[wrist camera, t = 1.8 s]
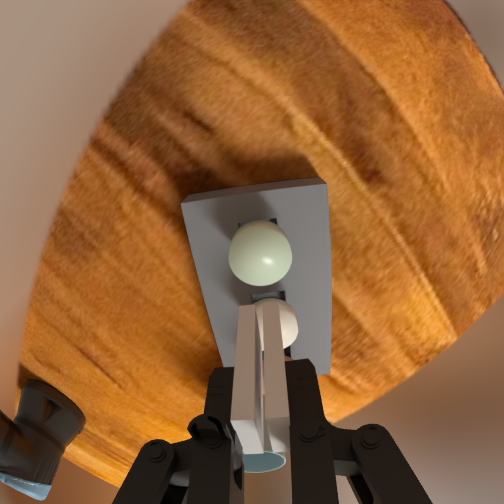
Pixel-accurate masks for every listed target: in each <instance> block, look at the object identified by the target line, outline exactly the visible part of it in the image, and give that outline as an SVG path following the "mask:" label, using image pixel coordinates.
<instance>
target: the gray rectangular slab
mask: <svg viewBox="0 0 504 504" xmlns="http://www.w3.org/2000/svg"><path fill="white" fill-rule="evenodd" d="M181 208H182V212H183V217H184V221H185V226H186V230H187V234H188V238H189V242H190V247H191V251H192V255H193V259H194V263H195V267H196V271H197V274H198V278H199V282H200V286H201V290H202V293H203V297H204V301H205V304H206V308H207V312H208V315H209V319H210V322H211V326H212V329H213V333H214V336H215V340H216V343H217V346H218V350H219V353H220V356H221V360H222V363H223V366H224V367H235V354H236V342H237V330H238V318H239V306H243V305H252V304H254V303H255V302H257V301H259V300H262V299H263V298H265V297H274V298H276V299H280V300H283V301H285V302H287V303H288V304H290V305H291V306H292V308H293V309H294V311H295V314H296V319H297V325H298V335H297V337H296V339H295V340H294V342H293V343H292V344H291V345H289V346H288V347H286V348H284V353H285V355H286V356H287V357H290V358H292V359H294V360H299V359H306V358H308V359H309V360H310V361H311V362H312V363H313V365H314V366H315V369H316V374H317V375H323V374H329V373H330V359H331V321H332V280H331V242H330V220H329V203H328V189H327V183H326V182H325V181H324V180H322V179H321V178H320V177H313V178H304V179H295V180H286V181H278V182H270V183H262V184H254V185H247V186H240V187H233V188H227V189H220V190H214V191H207V192H201V193H195V194H190V195H188V196H187V197H186V198H185V199H184V200H183V201H182V203H181ZM257 220H264V221H269V222H272V223H274V224H276V225H278V226H279V227H280V228H281V229H282V230H283V231H284V232H285V234H286V235H287V237H288V240H289V244H290V248H291V252H292V263H291V266H290V268H289V270H288V272H287V273H286V275H285V276H284V277H283V278H281V279H280V280H279V281H277V282H275V283H273V284H270V285H265V286H255V285H250V284H247V283H245V282H243V281H242V280H240V279H239V278H238V277H237V276H236V275H235V274H234V273H233V271H232V270H231V267H230V264H229V250H230V245H231V240H232V238H233V236H234V234H235V232H236V231H237V230H238V229H239V228H240V227H241V226H243V225H244V224H246V223H248V222H252V221H257ZM263 359H264V351H262V360H263Z"/></svg>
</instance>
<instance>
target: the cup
mask: <svg viewBox="0 0 504 504" xmlns="http://www.w3.org/2000/svg"><path fill="white" fill-rule="evenodd" d="M263 434H264V453H262V454H244V452H243V451H242V461H243V464H244V472H251V473H259V472H267V471H272V470H275V469H278V468H280V467H281V466H283V465H284V464H285V462H286V459H285V453H284V452H276V453H273V450H272V446H271V441H270V437H269V433H268V428H267V424H266V420H265V395H264V394H263Z"/></svg>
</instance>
